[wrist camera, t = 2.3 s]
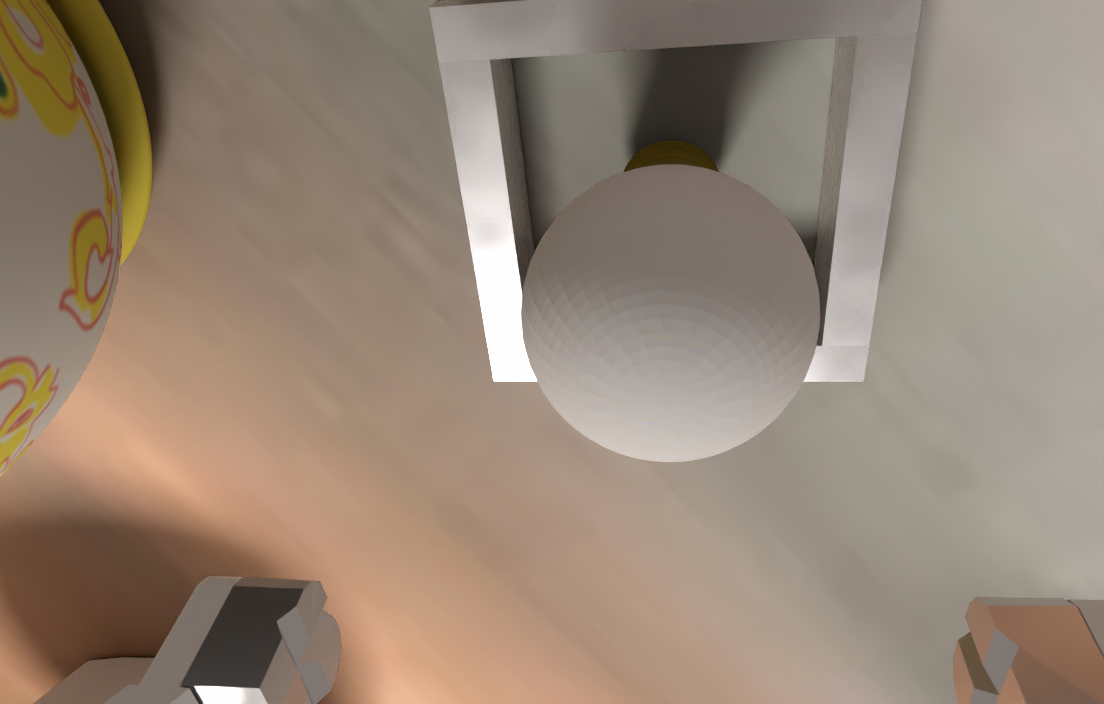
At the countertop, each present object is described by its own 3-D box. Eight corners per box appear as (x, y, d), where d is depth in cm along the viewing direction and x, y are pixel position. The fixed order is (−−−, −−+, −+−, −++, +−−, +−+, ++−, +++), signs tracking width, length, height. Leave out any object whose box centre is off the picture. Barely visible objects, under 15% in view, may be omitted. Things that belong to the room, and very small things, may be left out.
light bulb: (761, 278, 23) (803, 542, 15) (559, 261, 24) (498, 507, 16) (802, 72, 20) (885, 274, 12) (566, 57, 21) (492, 240, 12)
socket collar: (900, -52, 18) (926, -30, 16) (848, 332, 24) (863, 381, 22) (453, -16, 20) (429, 7, 18) (508, 335, 26) (493, 380, 24)
